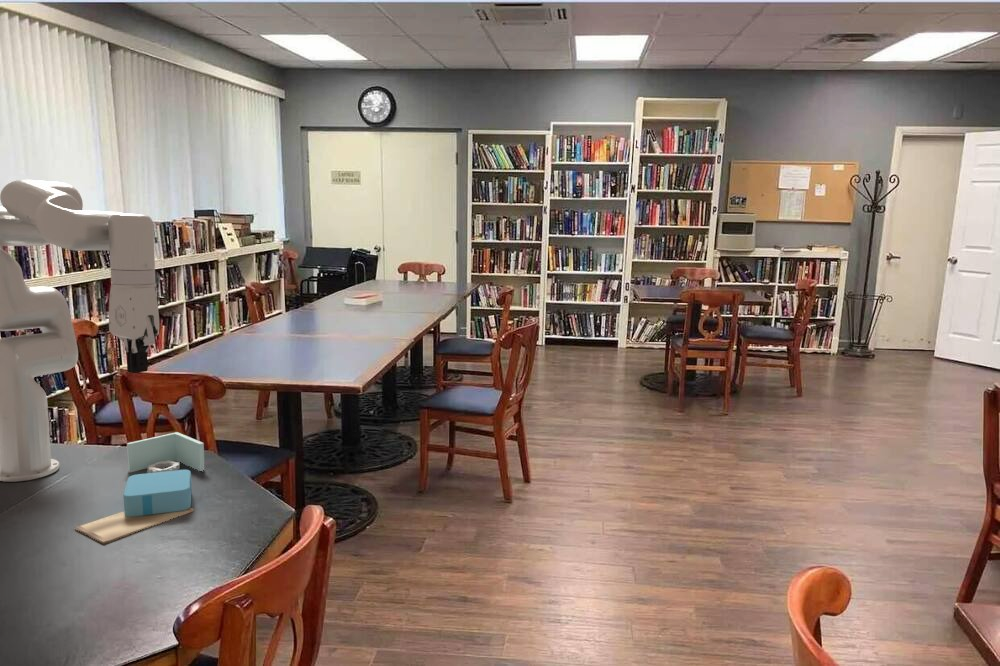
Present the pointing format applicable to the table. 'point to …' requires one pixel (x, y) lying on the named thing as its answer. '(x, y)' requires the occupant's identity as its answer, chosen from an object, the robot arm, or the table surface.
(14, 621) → the table surface
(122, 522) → the wooden board
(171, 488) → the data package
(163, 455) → the mint corner bracket
